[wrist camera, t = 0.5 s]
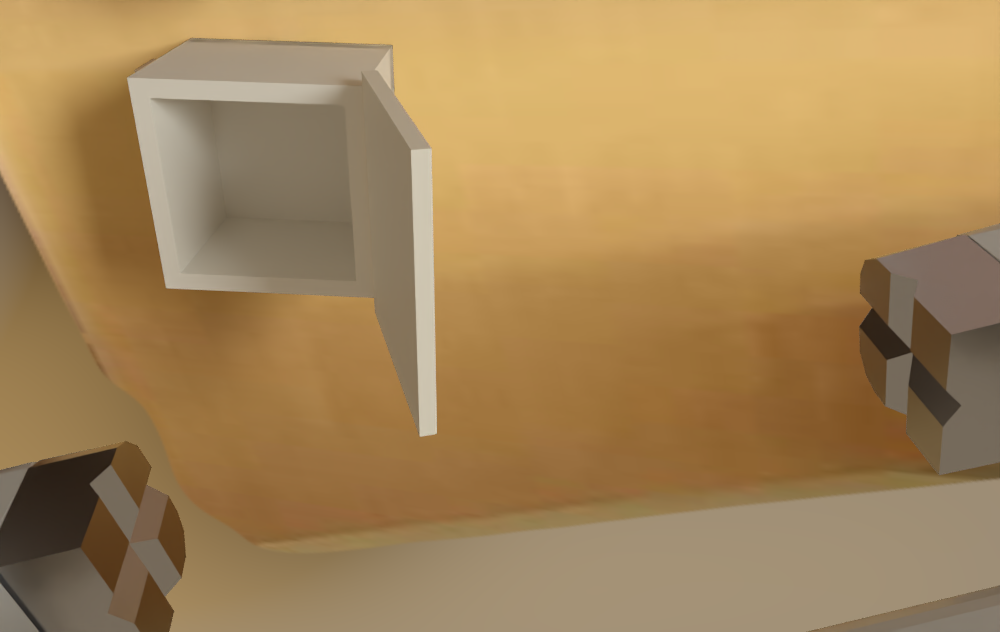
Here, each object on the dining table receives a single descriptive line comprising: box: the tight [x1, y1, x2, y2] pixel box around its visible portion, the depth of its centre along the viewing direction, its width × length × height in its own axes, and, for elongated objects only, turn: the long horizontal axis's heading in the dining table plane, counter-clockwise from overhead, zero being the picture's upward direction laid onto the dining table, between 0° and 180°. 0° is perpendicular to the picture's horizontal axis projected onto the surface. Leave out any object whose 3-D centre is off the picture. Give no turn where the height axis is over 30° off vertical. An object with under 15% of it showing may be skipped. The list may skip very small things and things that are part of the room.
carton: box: [127, 38, 394, 298], centre depth 52 cm, size 12×12×9 cm
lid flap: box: [361, 70, 437, 437], centre depth 43 cm, size 14×12×1 cm
